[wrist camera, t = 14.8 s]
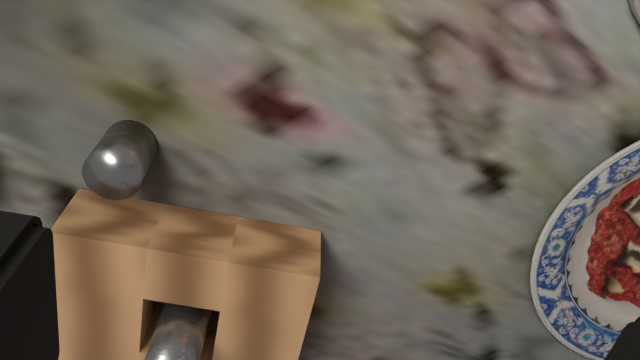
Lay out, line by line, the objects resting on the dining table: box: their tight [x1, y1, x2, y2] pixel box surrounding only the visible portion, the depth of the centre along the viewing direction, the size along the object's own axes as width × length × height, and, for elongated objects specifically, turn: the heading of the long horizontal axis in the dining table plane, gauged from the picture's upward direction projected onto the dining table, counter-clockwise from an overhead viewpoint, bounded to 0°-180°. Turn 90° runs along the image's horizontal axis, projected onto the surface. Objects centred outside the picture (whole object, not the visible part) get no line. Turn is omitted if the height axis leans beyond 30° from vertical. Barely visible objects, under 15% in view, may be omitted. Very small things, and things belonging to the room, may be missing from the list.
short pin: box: [82, 120, 158, 200], centre depth 43 cm, size 4×4×5 cm
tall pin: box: [145, 302, 212, 360], centre depth 47 cm, size 4×4×12 cm
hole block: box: [51, 189, 321, 360], centre depth 49 cm, size 20×16×6 cm
